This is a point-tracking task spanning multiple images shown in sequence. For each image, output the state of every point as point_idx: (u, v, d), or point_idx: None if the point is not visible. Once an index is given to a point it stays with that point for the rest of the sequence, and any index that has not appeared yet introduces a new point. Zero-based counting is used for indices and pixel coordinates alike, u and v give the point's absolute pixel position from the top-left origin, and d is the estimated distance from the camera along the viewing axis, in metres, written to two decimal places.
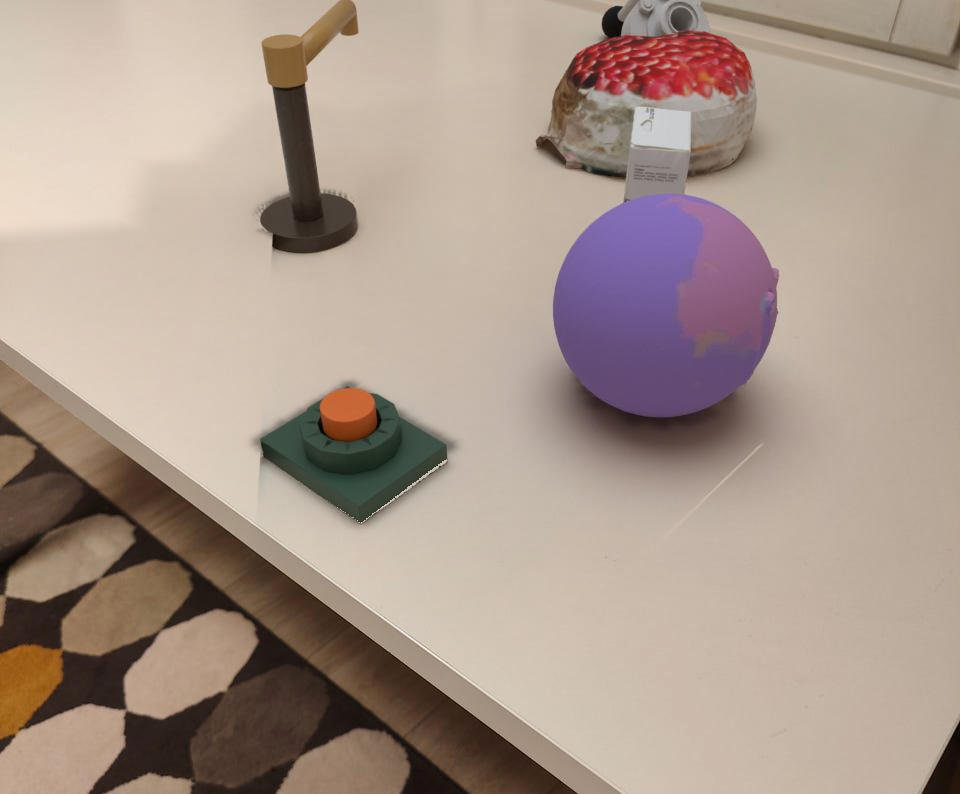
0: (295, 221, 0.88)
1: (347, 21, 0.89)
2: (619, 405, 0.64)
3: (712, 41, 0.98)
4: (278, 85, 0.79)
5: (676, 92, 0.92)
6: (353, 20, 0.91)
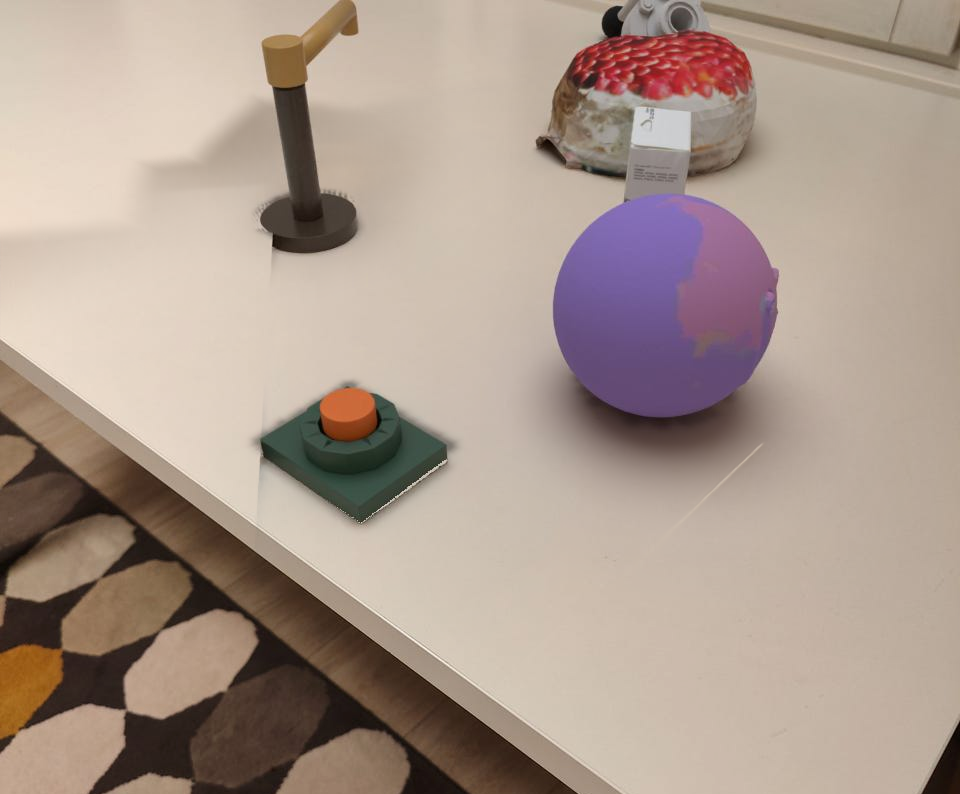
0: (295, 221, 0.88)
1: (347, 21, 0.89)
2: (619, 405, 0.64)
3: (712, 41, 0.98)
4: (278, 85, 0.79)
5: (677, 92, 0.92)
6: (353, 20, 0.91)
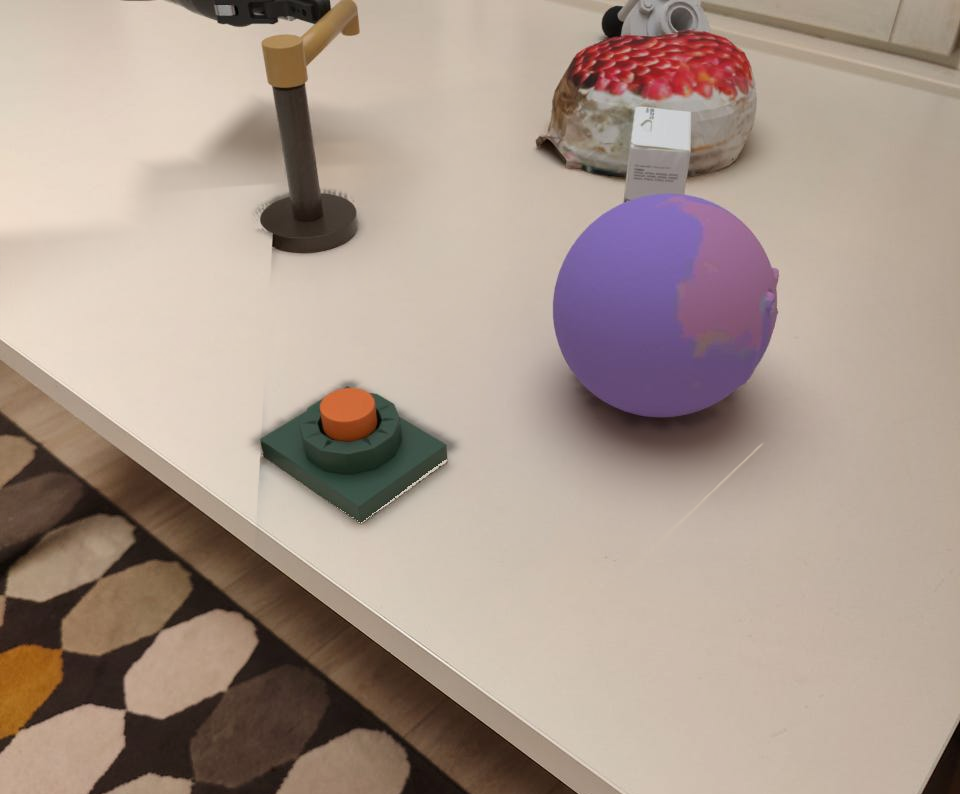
0: (295, 221, 0.88)
1: (348, 21, 0.89)
2: (619, 405, 0.64)
3: (712, 41, 0.98)
4: (278, 85, 0.79)
5: (677, 92, 0.92)
6: (354, 20, 0.91)
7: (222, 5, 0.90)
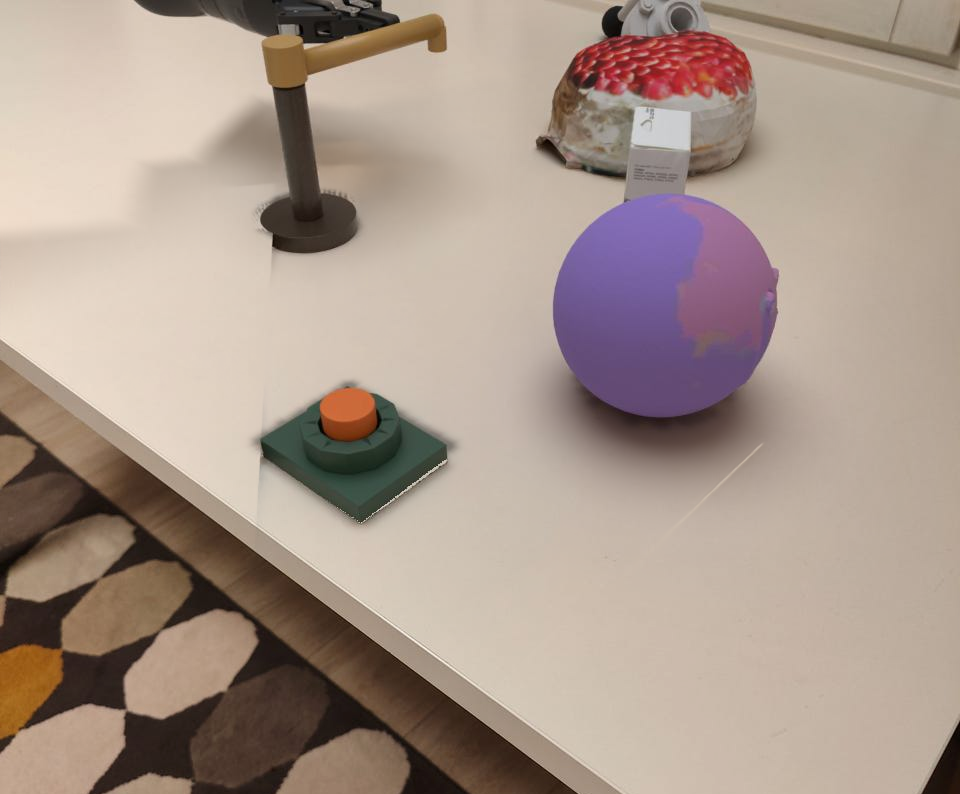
0: (295, 221, 0.88)
1: (418, 37, 0.86)
2: (619, 405, 0.64)
3: (712, 41, 0.98)
4: (269, 82, 0.79)
5: (677, 92, 0.92)
6: (437, 37, 0.87)
7: (287, 24, 0.86)
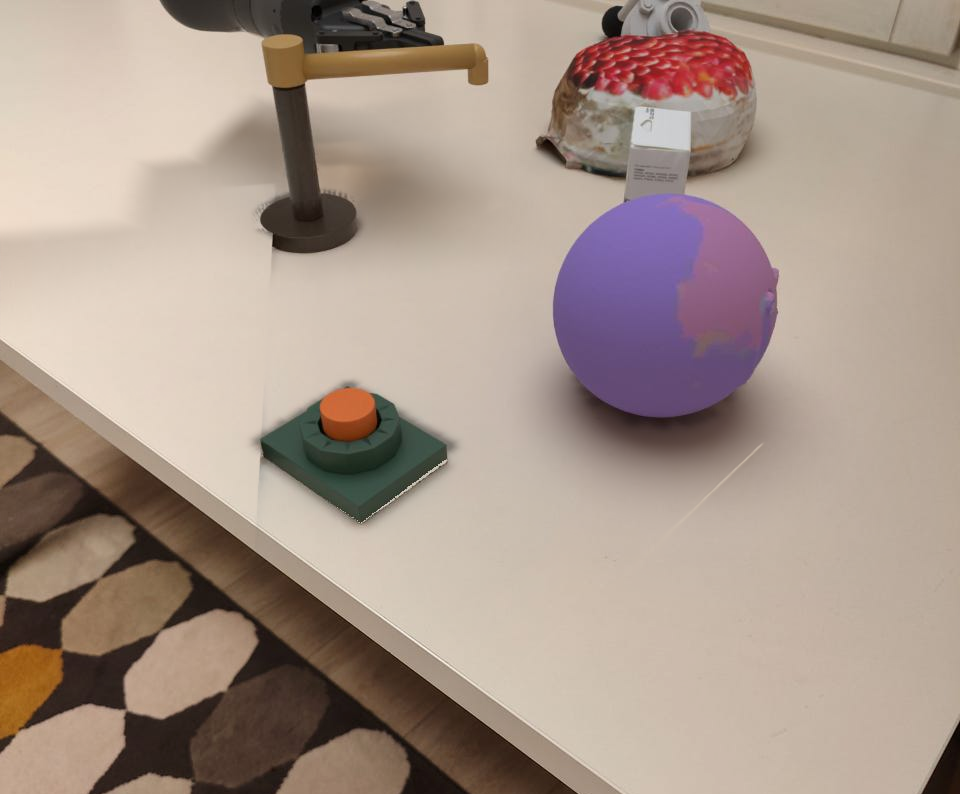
0: (295, 221, 0.88)
1: (445, 64, 0.80)
2: (619, 405, 0.64)
3: (712, 41, 0.98)
4: None
5: (677, 92, 0.92)
6: (472, 69, 0.81)
7: (325, 44, 0.83)
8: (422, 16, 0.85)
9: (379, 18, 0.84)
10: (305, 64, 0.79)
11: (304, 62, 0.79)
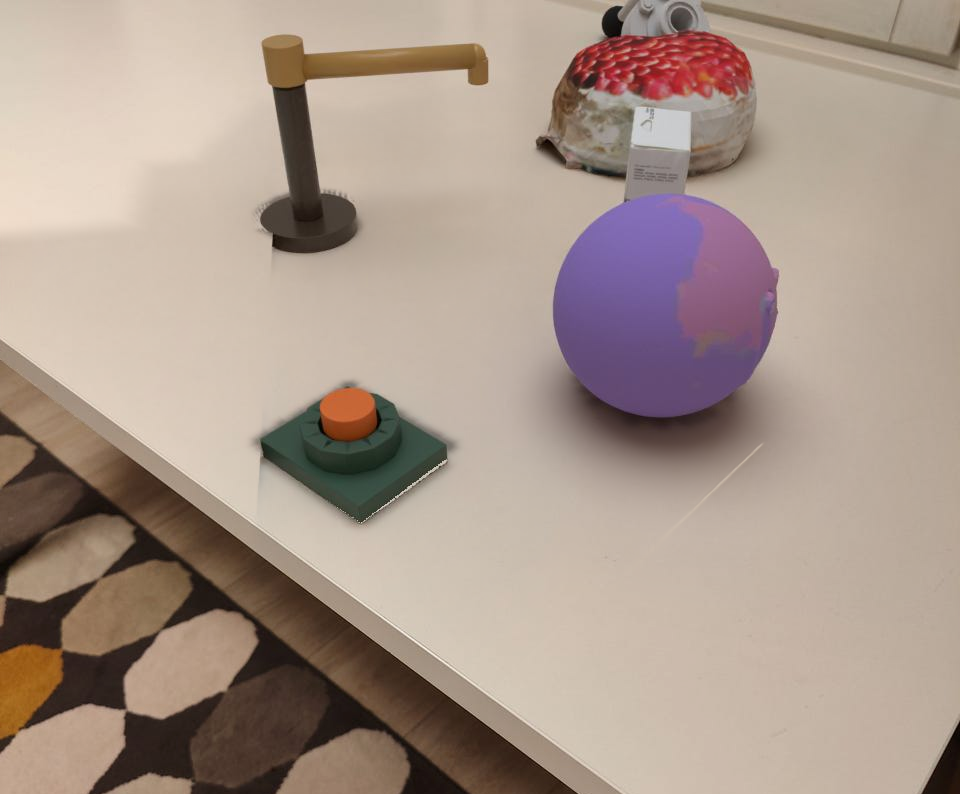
0: (295, 221, 0.88)
1: (445, 64, 0.80)
2: (619, 405, 0.64)
3: (712, 41, 0.98)
4: None
5: (677, 92, 0.92)
6: (472, 69, 0.81)
7: None
8: None
9: None
10: (305, 64, 0.79)
11: (304, 62, 0.79)
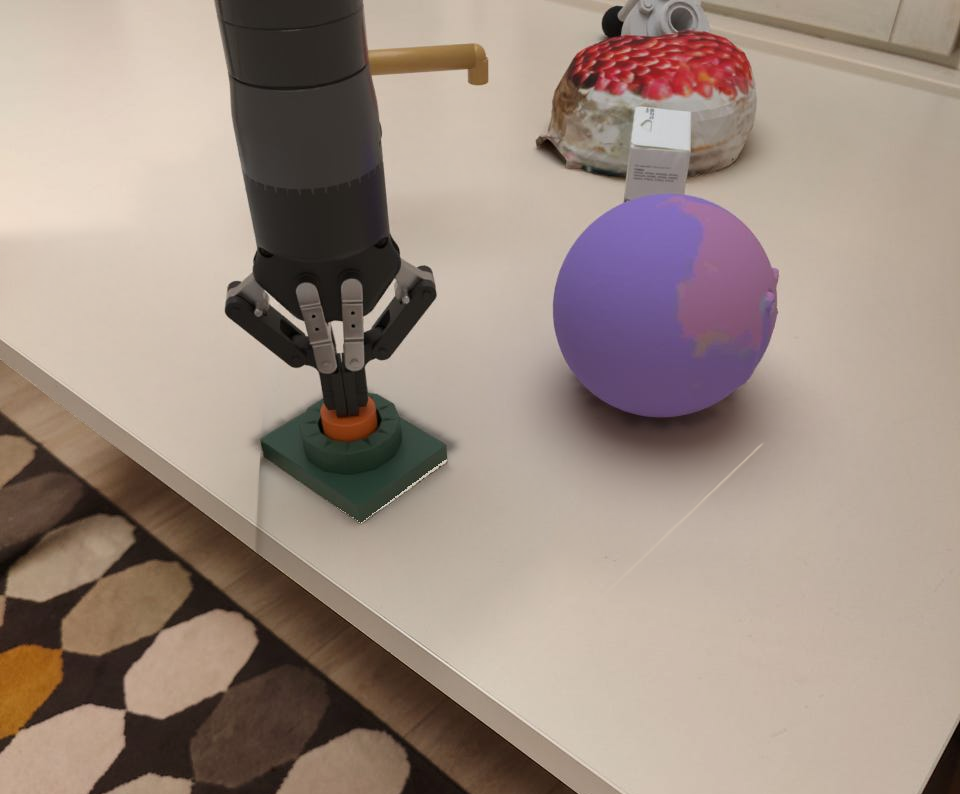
0: None
1: (445, 64, 0.80)
2: (619, 405, 0.64)
3: (712, 41, 0.98)
4: None
5: (677, 92, 0.92)
6: (472, 69, 0.81)
7: None
8: (393, 349, 0.58)
9: (325, 339, 0.56)
10: None
11: None
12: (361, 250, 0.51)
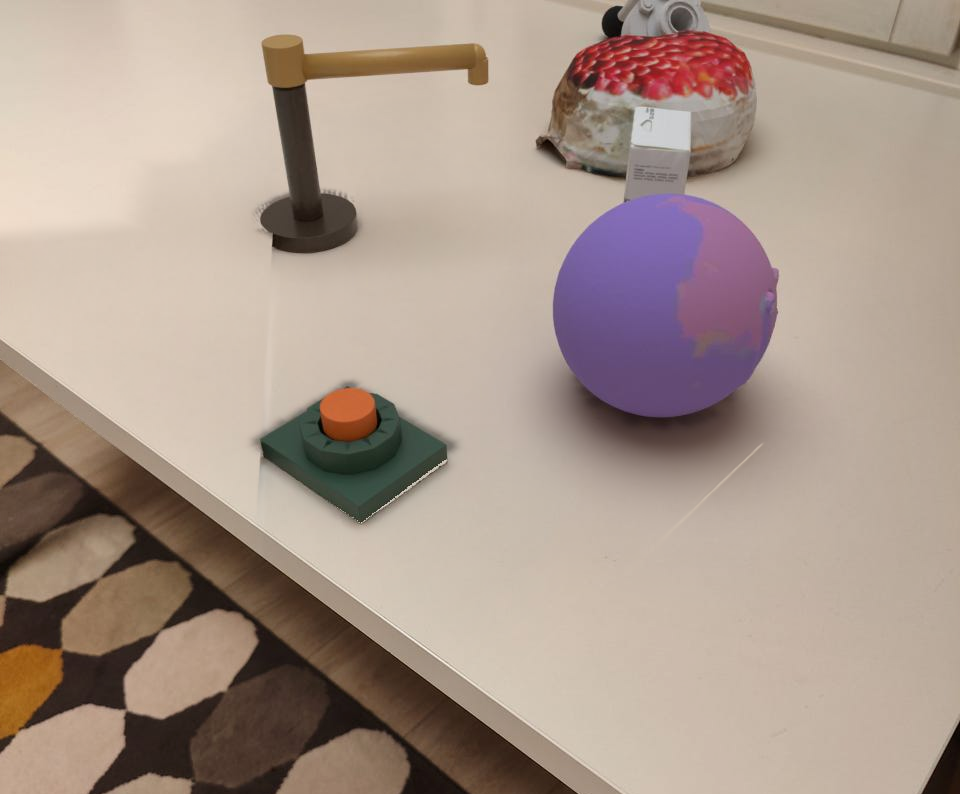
0: (295, 221, 0.88)
1: (445, 64, 0.80)
2: (619, 405, 0.64)
3: (712, 41, 0.98)
4: None
5: (677, 92, 0.92)
6: (472, 69, 0.81)
7: None
8: None
9: None
10: (305, 64, 0.79)
11: (304, 62, 0.79)
12: None
